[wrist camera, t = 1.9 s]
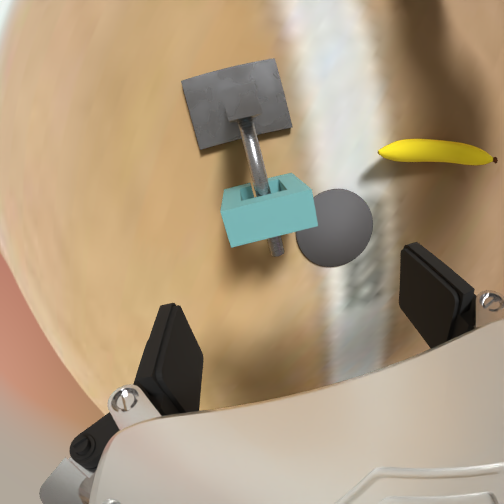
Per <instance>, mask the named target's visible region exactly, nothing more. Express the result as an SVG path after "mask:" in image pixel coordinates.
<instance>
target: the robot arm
mask: <svg viewBox="0 0 504 504" xmlns="http://www.w3.org/2000/svg"><path fill="white" fill-rule="evenodd" d="M474 290H475V289H474V288H473V287H472V286H470V285H469V284H468V283H467V282H466V281H465V280H464V279H462V278H461V277H460V276H459V275H458V274H456V273H455V272H454V271H453V270H452V269H450V268H449V267H448V266H447V265H446V264H444V263H443V262H442V261H441V260H439V259H438V258H437V257H436V256H434V255H433V254H432V253H431V252H429V251H428V250H427V249H425V248H424V247H423V246H422V245H420V244H419V243H417V242H415V243H411V244H408V245H405V246H404V248H403V250H401V267H400V293H399V305H400V308H401V309H402V311H403V312H404V313H405V315H406V316H407V317H408V319H409V320H410V321H411V322H412V324H413V325H414V326H415V328H416V329H417V330H418V332H419V333H420V334H421V336H422V337H423V338H424V340H425V341H426V343H427V344H428V345H429V347H430V348H431V349H429V350H427V351H425V352H422V353H420V354H417V355H415V356H413V357H410V358H408V359H405V360H403V361H400V362H397V363H395V364H392V365H389V366H387V367H384V368H381V369H378V370H375V371H373V372H370V373H367V374H364V375H361V376H358V377H354V378H351V379H348V380H345V381H342V382H338V383H335V384H331V385H328V386H324V387H320V388H317V389H313V390H309V391H305V392H301V393H297V394H293V395H288V396H284V397H279V398H275V399H270V400H265V401H260V402H254V403H249V404H243V405H237V406H231V407H224V408H218V409H211V410H203V411H199V405H200V392H201V381H202V370H203V354H202V351H201V349H200V347H199V345H198V343H197V341H196V339H195V336H194V334H193V332H192V330H191V328H190V326H189V324H188V322H187V319H186V317H185V315H184V313H183V311H182V308H181V307H180V306H179V305H178V306H176V304H175V303H170V304H166V305H161V306H160V308H159V311H158V314H157V317H156V320H155V322H154V325H153V328H152V331H151V334H150V337H149V340H148V341H147V343H146V346H145V349H144V352H143V355H142V359H141V362H140V365H139V368H138V371H137V374H136V378H135V381H134V384H133V385H124V386H122V387H120V388H118V389H117V390H115V391H114V392H113V393H112V395H111V396H110V398H109V400H108V409H109V411H110V412H109V413H108V414H107V415H105V416H104V417H102V418H101V419H100V420H98V421H97V422H96V423H94V424H93V425H92V426H90V427H89V428H87V429H86V430H85V431H83V432H82V433H80V434H79V435H78V436H77V437H76V438H74V440H73V441H72V443H71V446H70V455H71V457H70V458H69V459H68V458H66V457H65V459H64V460H63V461H62V462H61V463H60V464H59V466H58V467H57V468H56V469H55V470H54V471H53V473H52V474H51V475H50V476H49V477H48V479H47V480H46V481H45V482H44V483H43V485H42V486H41V488H40V493H39V494H40V499H41V501H42V503H43V504H504V296H503V295H501V294H500V293H498V292H496V291H491V290H486V291H482V292H480V293H479V294H478V295H477V296H476V295H475V294H474Z"/></svg>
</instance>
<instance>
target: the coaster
mask: <svg viewBox="0 0 504 504" xmlns="http://www.w3.org/2000/svg"><path fill="white" fill-rule="evenodd" d="M313 199H314V205H315V210H316V216H317V222H318V226H316V227H312V228H308V229H304V230H300V231H296V237H297V242H298V244H299V247H300V249H301V251H302V252H303V254H304V255H305V256H306V257H307V258H308V259H309V260H311V261H312V262H314V263H316V264H318V265H321V266H327V267H334V266H340V265H343V264H346V263H348V262H350V261H352V260H353V259H355V258H356V257H357V256H358V255H360V254H361V253H362V251H363V250H364V249H365V247H366V246H367V244H368V242H369V240H370V237H371V234H372V229H373V220H372V214H371V211H370V209H369V207H368V205H367V204H366V202H365V201H364V200H363V199H362V198H361V197H360V196H358V195H357V194H355V193H353V192H351V191H348V190H344V189H332V190H327V191H324V192H322V193H319V194H318V195H316V196H315V197H313Z"/></svg>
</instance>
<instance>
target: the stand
mask: <svg viewBox="0 0 504 504" xmlns="http://www.w3.org/2000/svg"><path fill="white" fill-rule="evenodd" d="M181 83H182V86H183V90H184V94H185V97H186V101H187V105H188V108H189V112H190V116H191V119H192V123H193V126H194V130H195V134H196V137H197V141H198V144H199V148H200V150H201V149H205V148H208V147H212V146H215V145H219V144H222V143H226V142H230V141H234V140H238V139H242V141H243V145H244V149H245V153H246V157H247V161H248V164H249V168H250V172H251V176H252V180H253V184H254V188H255V192H256V196H257V197H259V196H263V195H267V194H271V191H270V187H269V182H268V178H267V174H266V170H265V166H264V162H263V158H262V154H261V150H260V146H259V142H258V138H257V135H258V134H263V133H267V132H272V131H276V130H281V129H286V128H291V127H292V123H291V119H290V115H289V111H288V107H287V103H286V99H285V95H284V91H283V87H282V83H281V80H280V76H279V72H278V69H277V65H276V62H275V58H274V59H268V60H262V61H257V62H252V63H247V64H242V65H238V66H233V67H229V68H225V69H221V70H217V71H213V72H210V73H206V74H203V75H199V76H196V77H192V78H189V79H186V80H183V81H181ZM267 240H268V245H269V249H270V253H271V256H274V257H276V256H280V255H282V254H284V248H283V244H282V239H281V235H280V236H276V237H272V238H268V239H267Z"/></svg>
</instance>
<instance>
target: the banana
mask: <svg viewBox="0 0 504 504" xmlns="http://www.w3.org/2000/svg"><path fill="white" fill-rule="evenodd" d="M378 154H379V155H381V156H382V157H383V158H386V159H389V160H393V161H399V162H448V163H457V164H464V165H484V164H488V163H490V162H494V163H497V161H498V160H497V158H496V157H492V156H490V155H489V154H488V153H487V152H485V151H483V150H482V149H480V148H477V147H475V146H472V145H468V144H464V143H458V142H452V141H444V140H432V139H405V140H399V141H395V142H393V143H391V144H389V145H387V146H385V147H383V148H381V149H380V150H378Z"/></svg>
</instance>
